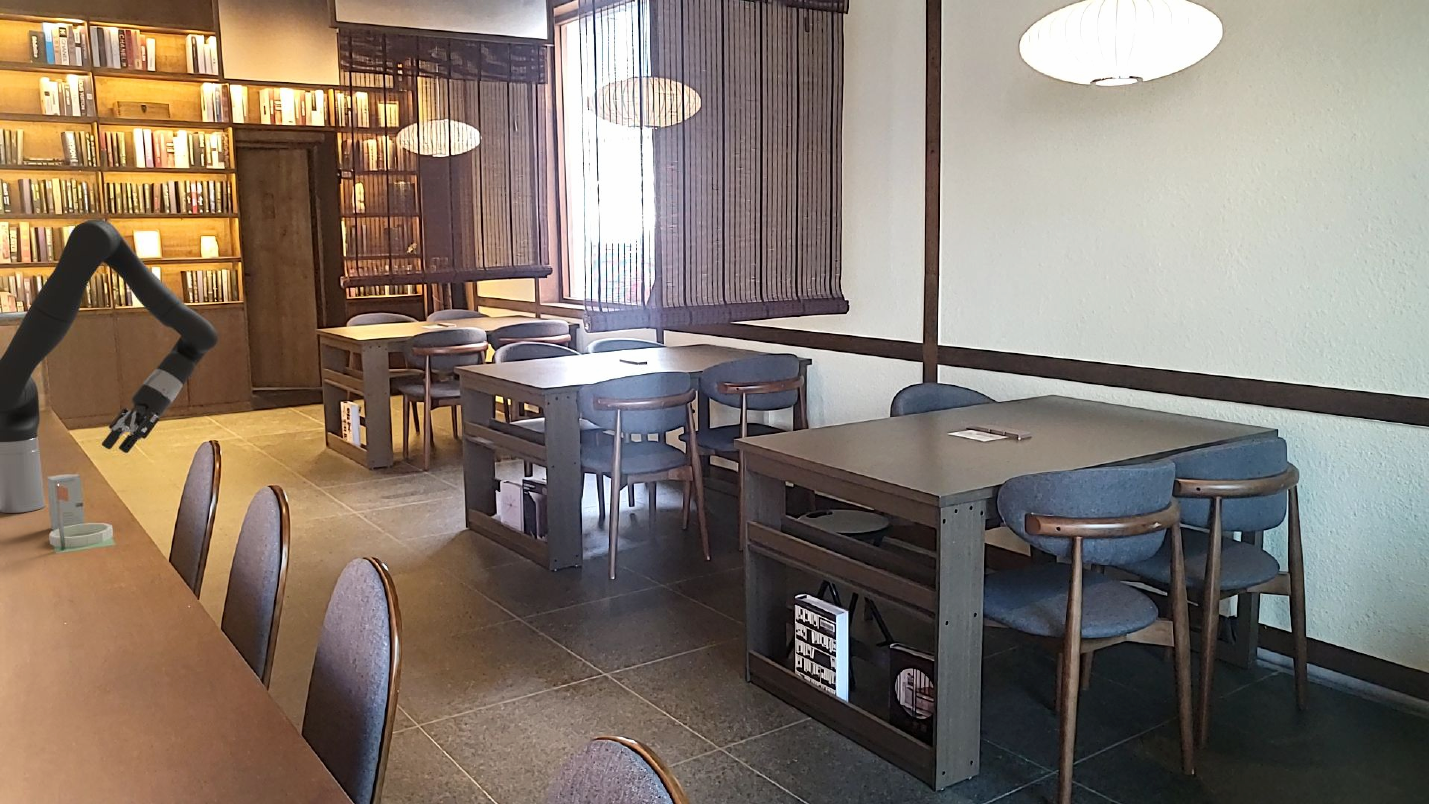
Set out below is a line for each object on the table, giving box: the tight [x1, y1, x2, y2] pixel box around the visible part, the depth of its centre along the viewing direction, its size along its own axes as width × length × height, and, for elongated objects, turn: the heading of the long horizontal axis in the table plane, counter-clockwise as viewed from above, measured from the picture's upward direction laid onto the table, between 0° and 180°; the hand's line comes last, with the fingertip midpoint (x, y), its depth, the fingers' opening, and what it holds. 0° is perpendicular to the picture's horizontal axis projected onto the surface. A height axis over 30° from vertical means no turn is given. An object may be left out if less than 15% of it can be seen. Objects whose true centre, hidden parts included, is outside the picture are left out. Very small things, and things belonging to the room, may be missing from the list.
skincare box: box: [46, 473, 86, 531], centre depth 247 cm, size 6×4×12 cm
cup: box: [48, 522, 114, 547], centre depth 238 cm, size 12×12×2 cm
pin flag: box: [54, 484, 69, 550], centre depth 228 cm, size 5×1×14 cm, turn 54°
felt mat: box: [52, 533, 116, 554], centre depth 238 cm, size 18×11×1 cm, turn 34°
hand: (113, 449), depth 255 cm, fingers open, 8 cm apart
